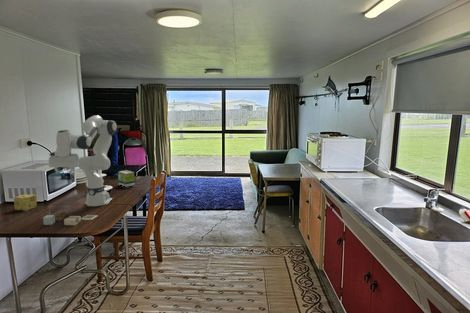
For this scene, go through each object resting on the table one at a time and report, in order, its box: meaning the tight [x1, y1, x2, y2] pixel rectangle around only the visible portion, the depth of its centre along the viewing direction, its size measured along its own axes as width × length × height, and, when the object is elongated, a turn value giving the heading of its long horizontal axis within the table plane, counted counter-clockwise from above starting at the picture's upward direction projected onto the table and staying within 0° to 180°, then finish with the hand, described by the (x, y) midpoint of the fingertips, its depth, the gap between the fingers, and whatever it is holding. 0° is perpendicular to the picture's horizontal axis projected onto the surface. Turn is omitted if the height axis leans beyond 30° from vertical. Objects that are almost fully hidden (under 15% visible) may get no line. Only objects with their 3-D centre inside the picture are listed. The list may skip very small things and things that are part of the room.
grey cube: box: [42, 214, 56, 226], centre depth 194 cm, size 5×5×5 cm
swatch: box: [81, 214, 99, 221], centre depth 206 cm, size 8×8×1 cm
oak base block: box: [63, 215, 82, 226], centre depth 195 cm, size 7×7×4 cm
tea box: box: [117, 169, 136, 188], centre depth 298 cm, size 15×10×15 cm, turn 49°
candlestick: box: [85, 170, 113, 192], centre depth 275 cm, size 21×25×28 cm
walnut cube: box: [52, 210, 66, 221], centre depth 202 cm, size 5×5×5 cm
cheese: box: [13, 194, 38, 212], centre depth 224 cm, size 10×11×10 cm
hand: (64, 173), depth 201 cm, fingers open, 8 cm apart
